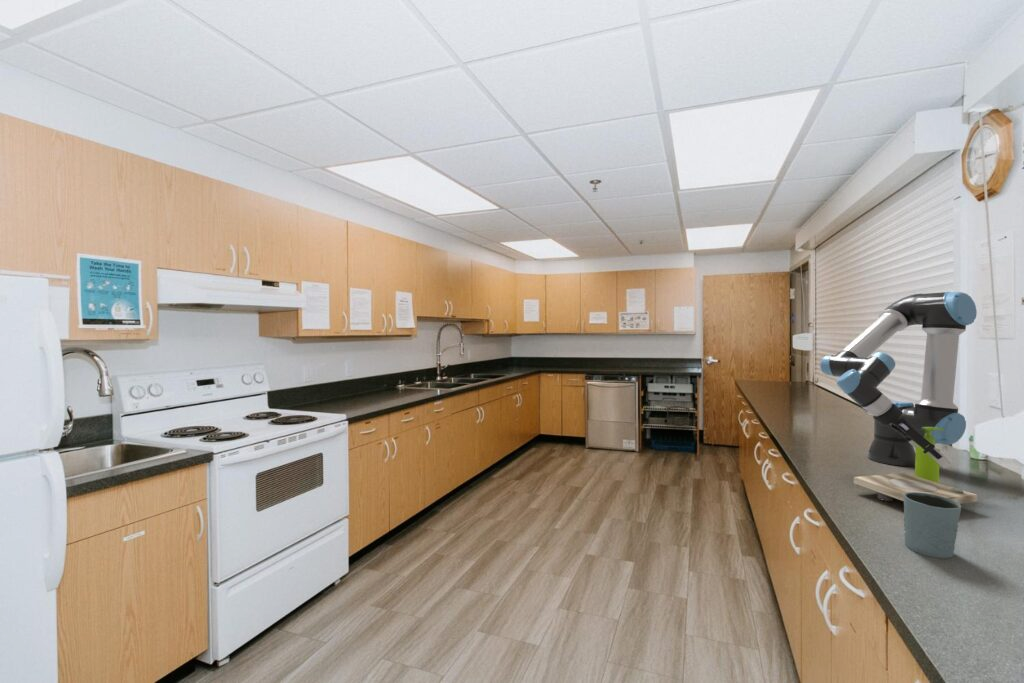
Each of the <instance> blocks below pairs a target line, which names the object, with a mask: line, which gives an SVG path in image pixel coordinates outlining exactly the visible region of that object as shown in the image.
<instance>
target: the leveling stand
mask: <svg viewBox="0 0 1024 683" xmlns="http://www.w3.org/2000/svg"><path fill="white" fill-rule="evenodd" d="M853 484H855V485H858V486H860V487H863V488H866V489H868V490H871V491H875V492H877V497H878V498H880V499H883V500H887V501H894V502H895V499H897V500H899V501H901V502H904V494H905V493H908V492H920V493H927V494H933V495H937V496H942V497H945V498H948V499H951V500H953V501H955V502H957V503H959V504H960V505H961V504H969V503H977V502H978V494H975V493H972V492H969V491H965V490H963V489H960V488H956V487H954V486H953V487H952V486H949V485H946V484H943V483H940V482H939V483H937V482H933V481H930V480H927V479H923V478H920V477H917V476H915V475H913V474H910V473H907V472H897V473H889V474H888V473H887V474H874V475H863V476H854V477H853ZM877 497H876V498H877ZM878 498H877V499H878ZM880 499H879V500H880ZM887 501H886V502H887Z"/></svg>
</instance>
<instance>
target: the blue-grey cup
mask: <svg viewBox="0 0 1024 683" xmlns="http://www.w3.org/2000/svg"><path fill="white" fill-rule="evenodd" d="M903 511H904V512H903V513H904V514H903V515H904V516H903V521H904V522H903V527H904V531H905V532H904V545H905V546H906V547H907V549H909V550H911V551H913V552H915V553H917V554H920V555H924V556H927V557H932V558H937V559H950V558H952V557H953V556H954V553H955V545H956V540H957V535H958V534H957V532H958V528H959V525H958V524H959V521H960V516H961V511H962V505H961V503H960V504H959V503H957V502H955V501H953V500H951V499H948V498H945V497H942V496H937V495H933V494H927V493H920V492H908V493H905V494H904V501H903Z"/></svg>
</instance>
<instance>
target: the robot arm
mask: <svg viewBox="0 0 1024 683" xmlns="http://www.w3.org/2000/svg"><path fill="white" fill-rule="evenodd" d="M977 314H978V312H977V306H976V303H975V301H974V299H973V298H972V297H971V296H970V295H969V294H968V293H965V292H963V291H961V292H960V291H946V292H945V291H942V292H929V293H914V294H910V295H907V296H905V297H903V298H900V299H899V300H896V301H895V302H893V303H892V304H890V305H888V306H887V307H886V308H885V309H883V310H882V311H881V312H880V313H879V315H878V317H877V319H876V320H875V321H873V322H872V323H871V324H870V325H869V326H868V327H867V328H866V329H864V330H863V331H862V332H861V333H860V334H858V335H857V336H856V337H855V338H854V339H853V340H851V342H849V343H848V344H847V345H846V346H844V347H843V348H842V349H841V350H840V351H839V352H837V353H836V354H835V355H834V354H830V355H825V356H824V357H823V358H822V359H821V361H820V365H819V366H820V370H821V372H822V373H823V374H825V375H826V376H827V375H828V376H832V377H835V378H836V377H838V378H837V380H836V385H837V387H839V388H840V389H841V390H842V391H843V394H844V393H845V394H846V395H847V396H849V398H851V399H852V400H853V401H854V402H855V403H856V404H857V405H859V406H860V407H861V408H862V412H863V413H868V415H869V416H872V418H873V421H874V424H873V425H874V427H873V440H872V443H871V445H870V447H869V449H868V451H867V458H868V459H869V460H871V461H874V462H876V463H877V462H878V463H881V464H886V465H891V466H892V465H893V466H901V467H915V456H916V447H917V446H920V447H921V448H922V449H924V451H923V452H924V453H925V454H926V453H927V454H928V455H929V456H931V457H932V458H933V459H934V460H935V461H936V462H937V463H938V464H939V465H940V467H942V468H943V469H947V468H948V467H949V466H951V465H953V462H952V461H951V460H950V459H949V458H948V457H947V456H945V455H944V454H943V453H942V452H941V451H940V452H939V451H938V450H937V449H938V448H936V444H937V445H938V444H940V445H945V446H949V445H950V446H951V445H953V444H956V443H957V442H959V440H961V439H962V437H963V436H964V433H965V431H966V428H967V420H966V417H965V416H964V415H963V414H961V413H959V407H958V405H956V404H955V403H954V396H955V395H954V393H955V383H956V374H957V372H956V371H957V362H958V351H959V343H960V342H959V340H960V335H962V334H963V333H964V332H966V329H967V326H969V325H972V324H973V323H974V322H975V320H976V318H977ZM915 325H919V326H920V325H922V326H921V329H922V331H923V332H925V333H926V339H925V340H926V342H925V353H924V364H923V375H922V386H921V395H920V396H921V397H920V399H919V400H917V401H916V402H913V401H892V400H891V399H890V398H889V397H887V396H886V395H885V394H884V393H883V392H881V391H880V390H879V389H878V386H879V385H880V384H882V382H883V381H884V380H885V379H887V377H889V375H890V374H891V373H892V371H893V370H894V369H895V368H896V361H895V359H894V358H893V357H892V356H891V355H889V354H887V353H885V352H881V351H879V352H878V351H877V350H879V348H880V347H881V346H883V344H885V342H887V341H888V340H889V339H890V338H892V337H893V336H894V335H895V334H896V333H898V332H902V331H904V330H905V329H907V328H908V327H910V326H915ZM874 352H875V353H874ZM922 427H936V428H940V429H943V430H944V431H940V430H932V437H933V438H935V446H934V445H932V444H931V443H930V442H929V441H928V440H926V439H925V438H924V437H923V436H925V430H924V429H922ZM928 445H929V446H928ZM927 446H928V447H927Z"/></svg>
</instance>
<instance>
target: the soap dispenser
mask: <svg viewBox="0 0 1024 683" xmlns="http://www.w3.org/2000/svg"><path fill="white" fill-rule="evenodd" d="M922 429H924V430H925V436H923V437H924V438H925V439H926V440H928V441H929V442H930V443H931V444H932V445H934V446H935V447H936V444H935V438H933V437H932V430H940V431H944V430H943V429H940V428H936V427H922ZM928 446H929V445H928ZM928 446H927V447H928ZM936 449H937V450H938V451H939V452H941V449H938V448H936ZM923 451H924V449H922V448H921V447H920V446H917V447H916V448H915V453H916V456H915V466H914V476H917V477H920V478H923V479H927V480H930V481H933V482H937V483H940V467H941V465H939V464H938V463H937V462H936V461H935V460H934V459H933V458H932V457H931V456H929V455H928V454H927V453H926V454H925V453H924V452H923Z"/></svg>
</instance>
